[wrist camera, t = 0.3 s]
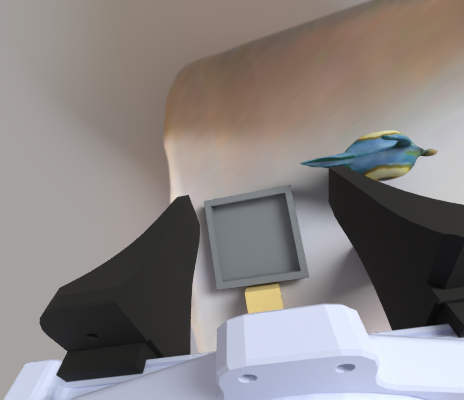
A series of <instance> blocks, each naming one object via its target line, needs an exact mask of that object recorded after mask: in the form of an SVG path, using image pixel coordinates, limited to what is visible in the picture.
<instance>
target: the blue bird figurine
mask: <svg viewBox="0 0 464 400" xmlns="http://www.w3.org/2000/svg"><path fill="white" fill-rule="evenodd" d="M437 152H438V151H437V150H434V149H428V150H424V149H422V148H420V147H417V146H416V145H415V144H414V143H413V142H412V141H411V140H410V139H409V138H408V137H406V136H405V135H403V134H401V133H399V132H397V131H393V130H390V131H381V132H375V133H371V134H367V135H365V136H363V137H361V138H359V139H358V140H357V141H355V142H354V143H353V144H352V145H351V146H350V147H349V148H348V149H347V150H346V151H345V153H342V154H337V155H333V156H328V157H322V158H318V159H313V160H308V161H305V162H302V163H300V164H303V165H307V166H310V167H323V168H332V167H337V166H344V167H347V168H349V169H351V170H354V171H356V172H358V173H360V174H362V175H365V176H367V177H369V178H372V179H374V180H376V181H386V180H391V179H395V178H398V177H400V176H403V175H405V174H406V173H407V172H408V171H410V169H411V168H412V167H413V166H414V164H415V162H416V160H417V158H418V157H419V156H431V155H434V154H436V153H437Z"/></svg>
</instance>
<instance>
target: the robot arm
mask: <svg viewBox="0 0 464 400" xmlns="http://www.w3.org/2000/svg"><path fill="white" fill-rule="evenodd" d="M329 204H330V206H331V209H332V211H333V213H334V216H335V218H336V219H337V221H338V223H339V224H340V226H341V228H342V229H343V231H344V232H345V234H346V235H347V237H348V239H349V240H350V242H351V243H352V245H353V247H354V248H355V250H356V251H357V253H358V255H359V257H360V258H361V260H362V262H363V264H364V267H365V269H366V271H367V273H368V275H369V277H370V279H371V281H372V284H373V286H374V288H375V290H376V292H377V295H378V297H379V299H380V302H381V304H382V306H383V309H384V311H385V314H386V316H387V318H388V321H389V323H390V326H391V329H392V331H384V332H376V333H368V334H367V332H366V330H365V328H364V326H363V324H362V321H361V319H360V317H359V315H358V313H357V311H356V310H353V309H351V308H349V307H347V306H344V305H342V304H316V305H308V306H301V307H294V308H286V309H279V310H271V311H264V312H256V313H249V314H243V315H239V316H236V317H233V318H229V319H228V320H227V321H226V322H225V323H224V324H222V325H221V326H220V327H219V328H218V329H217V351H216V352H208V353H200V354H191V355H190V327H191V298H192V283H193V275H194V270H195V264H196V258H197V252H198V246H199V237H200V224H199V221H198V219H197V216H196V213H195V211H194V208H193V205H192V203H191V200H190V197H189V195H186V196H181V197H177V198H176V199H175V200H174V201H173V202H172V203H171V204H170V206H169V207H168V208H167V209H166V210H165V211H164V212H163V213H162V215H161V216H160V217H159V218H158V219H157V220H156V221H155V222H154V223H153V224H152V225H151V226H150V227H149V228H148V229H147V230H146V231H145V232H144V233H143V234H142V235H141V236H140V237H139V238H137V239H136V240H135V241H134V242H133V243H132V244H130V245H129V246H128V247H126V248H125V249H124V250H122V251H121V252H120V253H118V254H117V255H115V256H114V257H113V258H111V259H110V260H108V261H107V262H105V263H104V264H102V265H101V266H99V267H97V268H96V269H94V270H92V271H91V272H89V273H87V274H85V275H84V276H82V277H80V278H78V279H76V280H74V281H72V282H70V283H68V284H66V285H65V286H62V287H61V288H59V290H58V291H57V293H56V294H55V296H54V297H53V299H52V300H51V302H50V303H49V305H48V306H47V308H46V309H45V311H44V313H43V314H42V316H41V317H40V325H41V328H42V330H43V331H44V332H45V333H46V334H47V335H48V336H49V337H50V338H51V339H53V340H54V341H55V342H57V343H58V344H59V345H60V346H61V347H63V348H64V349H65V350H66V351H68V352H67V354H66V356H65V358H64V360H63V361H62V360H58V359H50V360H42V361H34V362H28V363H26V364H25V365H24V367H23V369H22V370H21V372H20V373H19V375H18V377H17V378H16V380H15V382H14V383H13V385H12V386H11V388H10V390H9V391H8V393H7V395H6V396H5V398H4V400H464V205H462V204H456V203H450V202H446V201H441V200H436V199H432V198H428V197H424V196H420V195H417V194H413V193H410V192H406V191H403V190H400V189H397V188H394V187H392V186H389V185H386V184H384V183H381V182H379V181H376V180H374V179H372V178H369V177H367V176H365V175H362V174H360V173H358V172H356V171H354V170H351V169H349V168H347V167H344V166H337V167H332V168H329Z"/></svg>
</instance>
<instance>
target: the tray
mask: <svg viewBox="0 0 464 400" xmlns="http://www.w3.org/2000/svg"><path fill="white" fill-rule="evenodd" d="M204 205H205V212H206V219H207V226H208V232H209V239H210V246H211V253H212V260H213V267H214V274H215V281H216V288H217V290H220V289H227V288H234V287H241V286H249V285H256V284H263V283H271V282H278V281H285V280H292V279H300V278H307V277H309V274H308V269H307V264H306V259H305V254H304V250H303V245H302V240H301V235H300V230H299V225H298V220H297V215H296V210H295V205H294V200H293V196H292V191H291V186H290V185H288V186H283V187H278V188H272V189H267V190H261V191H256V192H251V193H245V194H240V195H235V196H229V197H224V198H219V199H213V200H208V201H204Z"/></svg>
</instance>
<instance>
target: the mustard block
mask: <svg viewBox="0 0 464 400" xmlns="http://www.w3.org/2000/svg"><path fill="white" fill-rule="evenodd" d="M245 297H246V304H247V310H248V314H249V313H256V312H264V311H271V310H279V309H283V303H282V298H281V292H280V287H279V281H278V282H271V283H263V284H256V285H249V286H247V288H246V291H245Z"/></svg>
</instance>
